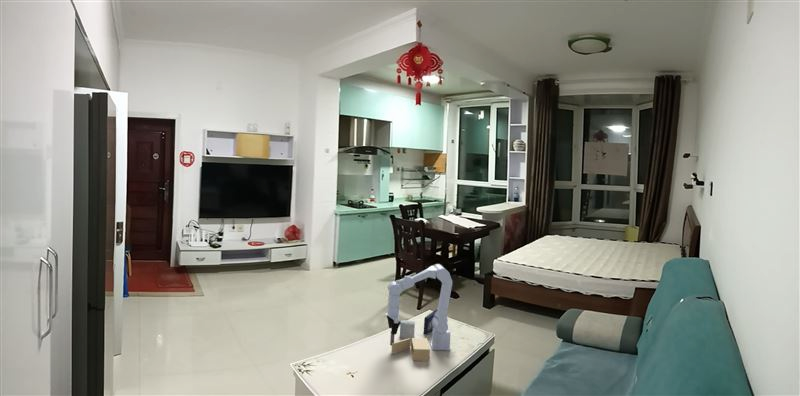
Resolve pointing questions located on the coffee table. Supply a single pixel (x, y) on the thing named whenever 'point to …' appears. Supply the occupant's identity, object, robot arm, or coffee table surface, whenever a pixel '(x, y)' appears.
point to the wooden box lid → (399, 345)
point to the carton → (420, 349)
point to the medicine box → (407, 329)
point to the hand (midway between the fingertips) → (392, 330)
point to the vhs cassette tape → (429, 323)
